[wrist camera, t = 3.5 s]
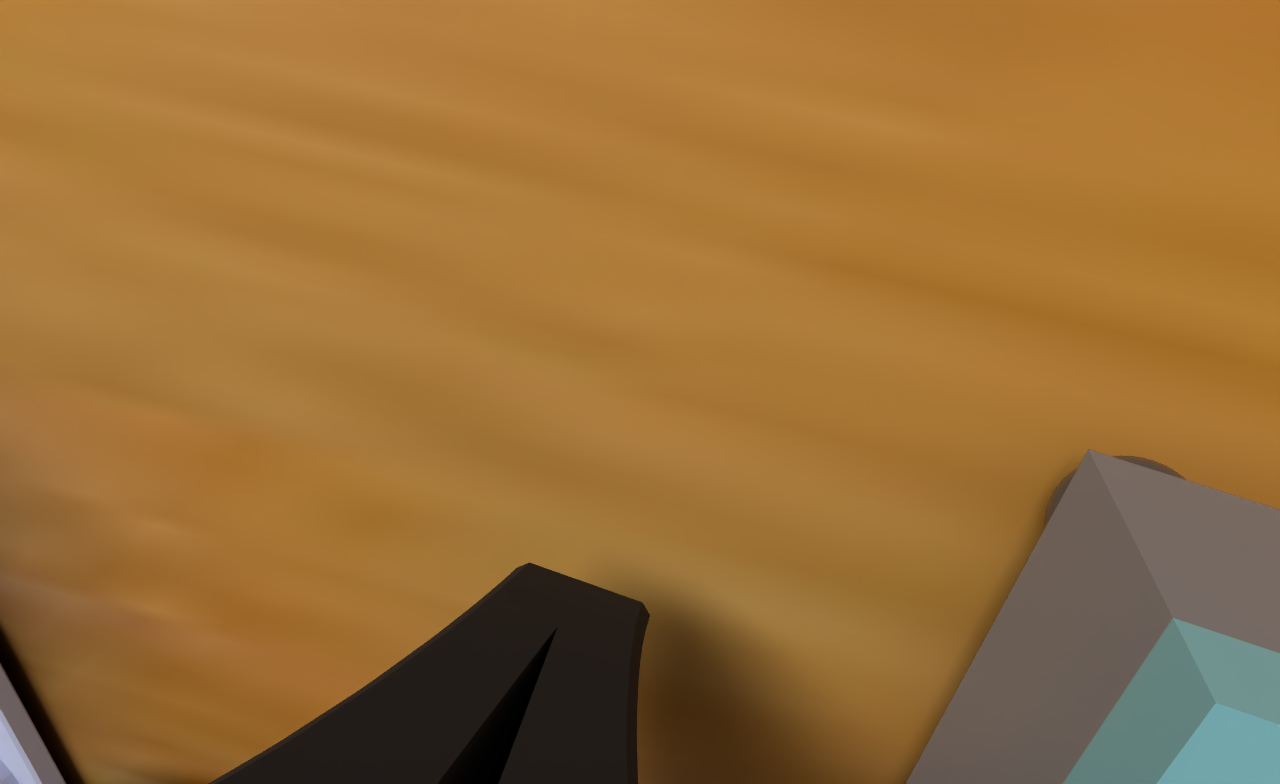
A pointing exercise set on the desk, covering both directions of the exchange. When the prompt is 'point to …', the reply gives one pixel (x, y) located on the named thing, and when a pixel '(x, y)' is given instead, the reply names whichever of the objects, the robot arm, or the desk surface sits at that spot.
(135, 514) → the desk surface
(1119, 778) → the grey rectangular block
